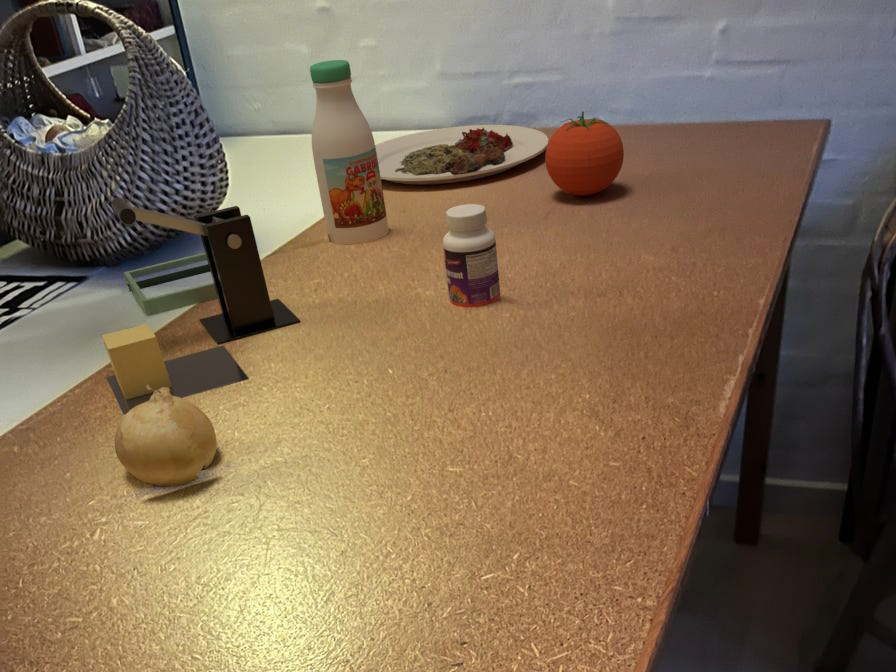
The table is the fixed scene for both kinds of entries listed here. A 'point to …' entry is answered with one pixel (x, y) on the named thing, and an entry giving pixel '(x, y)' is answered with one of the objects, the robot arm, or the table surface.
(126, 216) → the lever
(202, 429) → the onion
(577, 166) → the tomato
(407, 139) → the plated food
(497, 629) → the table surface
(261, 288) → the black lever stand
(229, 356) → the board
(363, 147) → the milk bottle
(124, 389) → the yellow rectangular block
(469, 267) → the pill bottle
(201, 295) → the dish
